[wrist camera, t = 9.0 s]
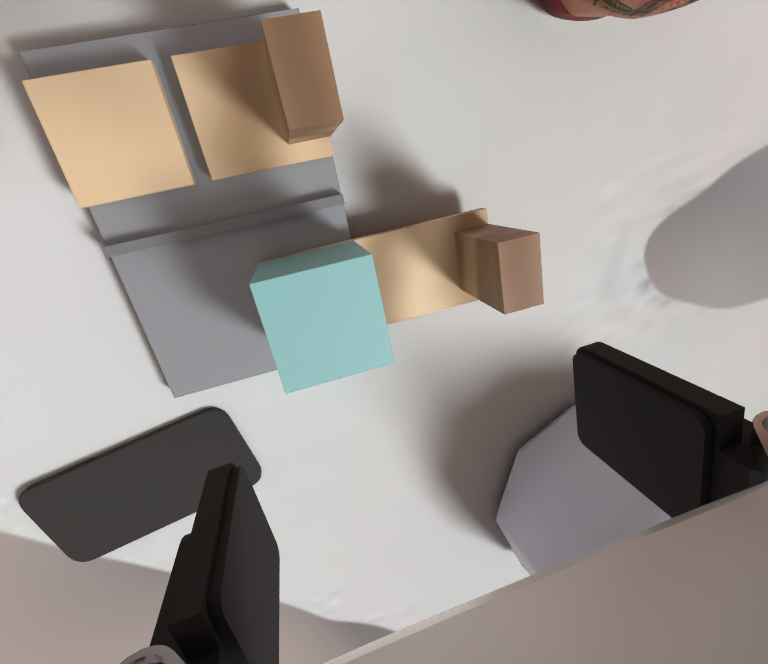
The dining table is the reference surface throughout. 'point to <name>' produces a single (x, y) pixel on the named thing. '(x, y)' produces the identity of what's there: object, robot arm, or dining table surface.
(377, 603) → the dining table surface
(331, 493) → the dining table surface
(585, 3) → the decorative planter
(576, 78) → the dining table surface
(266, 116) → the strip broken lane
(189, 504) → the phone
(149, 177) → the lane board
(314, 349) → the cube
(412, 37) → the dining table surface
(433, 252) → the strip cube lane
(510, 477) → the light grey vase
